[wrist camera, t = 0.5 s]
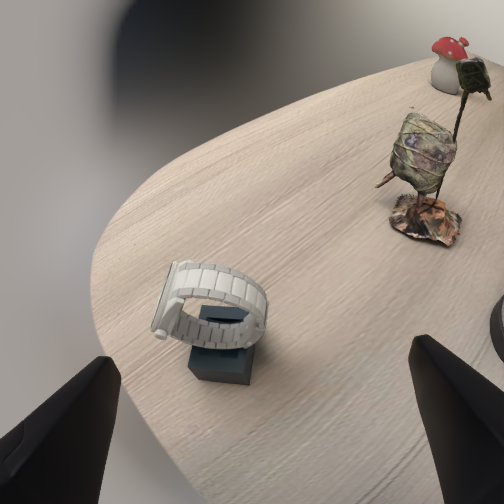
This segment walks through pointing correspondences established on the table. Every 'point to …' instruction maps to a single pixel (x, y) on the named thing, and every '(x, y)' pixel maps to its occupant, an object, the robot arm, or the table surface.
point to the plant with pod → (431, 163)
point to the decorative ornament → (448, 63)
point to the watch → (213, 319)
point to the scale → (498, 327)
